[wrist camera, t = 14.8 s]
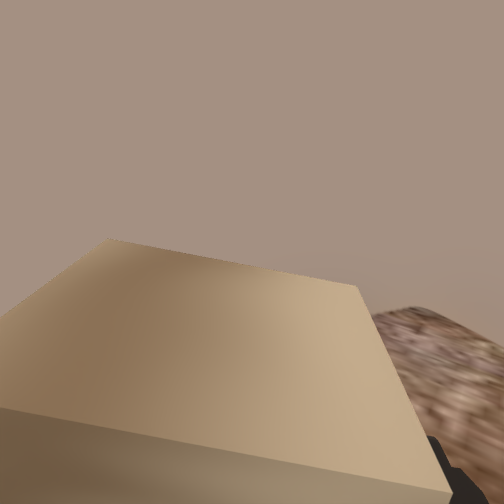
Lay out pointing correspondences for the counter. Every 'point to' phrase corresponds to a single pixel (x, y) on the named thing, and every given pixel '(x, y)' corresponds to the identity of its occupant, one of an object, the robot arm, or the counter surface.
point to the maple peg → (203, 390)
